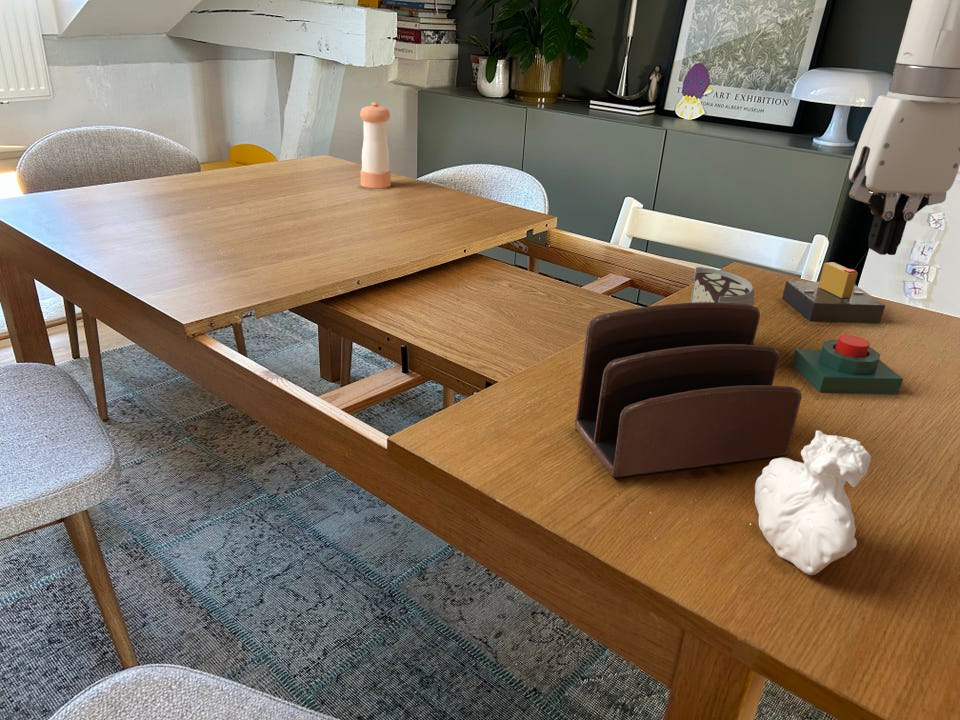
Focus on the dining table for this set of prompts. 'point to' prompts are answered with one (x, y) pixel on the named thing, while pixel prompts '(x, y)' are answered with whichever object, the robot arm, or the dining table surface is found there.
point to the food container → (721, 287)
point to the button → (852, 346)
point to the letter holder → (681, 389)
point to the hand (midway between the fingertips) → (881, 251)
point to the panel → (832, 304)
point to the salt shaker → (375, 147)
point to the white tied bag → (811, 502)
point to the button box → (846, 371)
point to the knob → (838, 280)
